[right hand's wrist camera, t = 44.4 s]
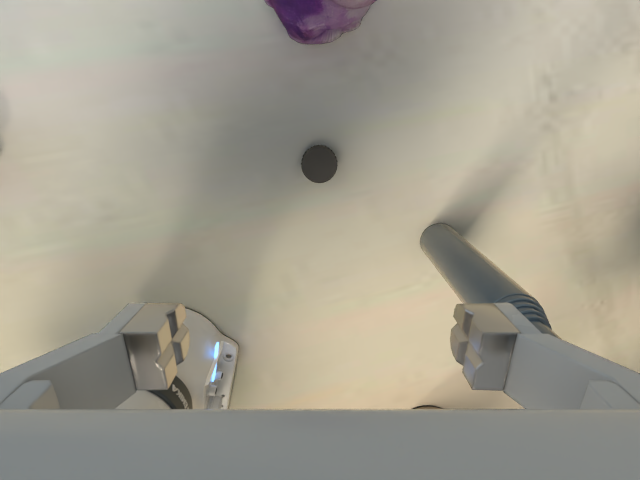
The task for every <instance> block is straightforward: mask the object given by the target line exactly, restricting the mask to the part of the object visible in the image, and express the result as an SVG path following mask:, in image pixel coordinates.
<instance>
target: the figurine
mask: <svg viewBox="0 0 640 480" xmlns="http://www.w3.org/2000/svg"><path fill="white" fill-rule="evenodd" d="M264 1H265V2H266V4H267V5H269V6H271V7H272V8H274V10H275V12H276V14H277V15H278V17H279V19H280V20H281V22H282V23H283V25H284V26H285V28H286V30H287V32H288V34H289V36H290V37H291V38H292V39H293V40H295V41H297V42H299V43H303V44H323V43H328V42H332V41H334V40H336V39H338V38H339V37H340V36H341V34H342V33H345V32H348V31H352V30H355V29H356V28H358V27H359V26H360V24H361V21H362V17H363V16H364V15H365V14H366V12H367V11H368V9H369V7H370V5H371V4H372V3H374V2H375V1H376V0H264Z"/></svg>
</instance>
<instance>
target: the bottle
mask: <svg viewBox="0 0 640 480" xmlns="http://www.w3.org/2000/svg"><path fill="white" fill-rule="evenodd" d="M420 245H421V248H422V250H423V252H424V253H425V254H426V256H427V257H428V258H429V259H430V261H431V262H432V263H433V265H434V266H435V267H436V269H437V270H438V271H439V273H440V274H441V275H442V277H443V278H444V279H445V281H446V282H447V283H448V284H449V286H450V287H451V288H452V290H453V291H454V292H455V294H456V295H457V296H458V298H459V299H460V300H461V302H462V303H463V304H474V303H507V302H508V303H510V304H512V305H513V306H514V307H515V308H517V309H518V310H519V311H520V312H521V313H522V314H523V315H524V316H525V317H526V318H527V319H528V320H529V321H530V322H531V323H532V324H533V325H534V326H535V327H536V328H537V329H538V330H539V331H540V332H541V333H542V334H550V335H552V336H554V337H557V338H559V339H561V338H560V337H559V336H558V335H557V334H556V333H554V332H553V331H552V329H551V326H550V324H549V321H548V319H547V317H546V314H545V313H544V310H543V308H542V307H541V305H540V304H539V303H538V301H537V300H536V299H535V298H534V297H532V296H531V295H530V294H529V293H528V292H527V291H525V290H524V289H523V288H522V287H521V286H520V285H518V284H517V283H516V282H515V281H514V280H513V279H511V278H510V277H509V276H508V275H507V274H505V273H504V272H503V271H502V270H501V269H500V268H498V267H497V266H496V265H495V264H494V263H493V262H491V261H490V260H489V259H488V258H487V257H486V256H484V255H483V254H482V253H481V252H480V251H479V250H477V249H476V248H475V247H474V246H473V245H472V244H470V243H469V242H468V241H467V240H466V239H464V238H463V237H462V236H461V235H460V234H459V233H457V232H456V231H455V230H454V229H453V228H452V227H450V226H449V225H447V224H442V223H439V224H434V225H431V226H430V227H428V228H427V229H426V230H425V231H424V232H423V234H422V236H421V239H420ZM561 340H562V339H561Z"/></svg>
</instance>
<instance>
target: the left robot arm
mask: <svg viewBox="0 0 640 480" xmlns="http://www.w3.org/2000/svg"><path fill="white" fill-rule="evenodd" d="M416 409H441V408H438V407H433V406H424V407H419V408H416Z"/></svg>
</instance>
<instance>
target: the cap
mask: <svg viewBox="0 0 640 480" xmlns="http://www.w3.org/2000/svg"><path fill="white" fill-rule="evenodd" d="M301 164H302V170H303V173H304V175H305V176H306V177H307V178H308V179H309V180H311V181H312V182H316V183H323V182H326V181H328V180H330V179H331V178H332V177H333V176H334V174H335V172H336V170H337V160H336V156H335V154H334V153H333V152H332V150H330V149H329V148H327V147H326V146H321V145H317V146H313V147H311V148H310V149H308V150H307V151H306V152H305V155H304V156H303V158H302V163H301Z"/></svg>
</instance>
